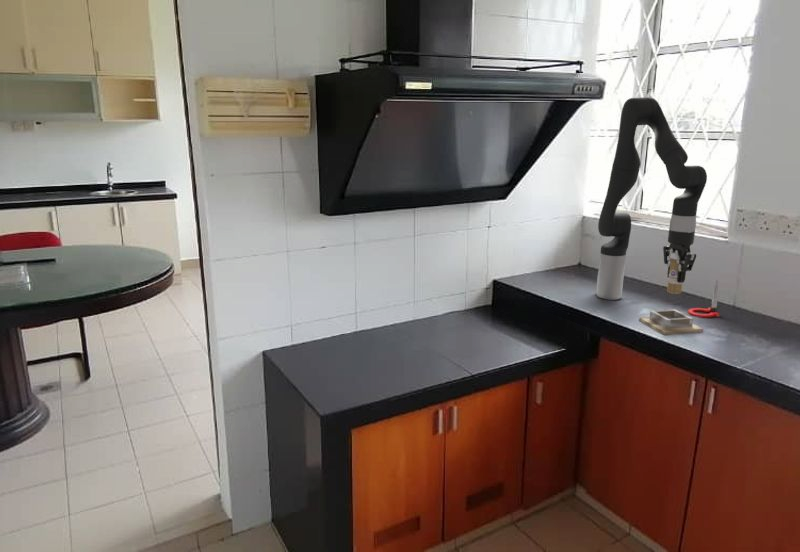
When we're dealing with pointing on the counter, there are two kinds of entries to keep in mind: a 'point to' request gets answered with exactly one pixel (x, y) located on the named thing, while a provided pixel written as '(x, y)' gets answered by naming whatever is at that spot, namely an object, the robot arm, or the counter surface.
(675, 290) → the sprinkles bottle
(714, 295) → the tow hook
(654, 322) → the keeper
